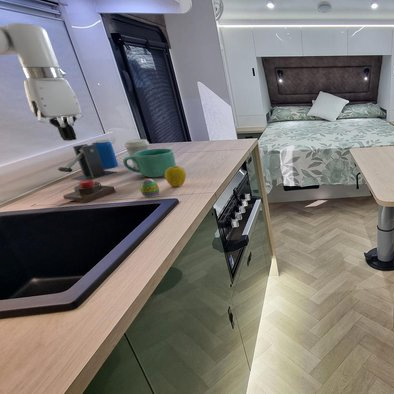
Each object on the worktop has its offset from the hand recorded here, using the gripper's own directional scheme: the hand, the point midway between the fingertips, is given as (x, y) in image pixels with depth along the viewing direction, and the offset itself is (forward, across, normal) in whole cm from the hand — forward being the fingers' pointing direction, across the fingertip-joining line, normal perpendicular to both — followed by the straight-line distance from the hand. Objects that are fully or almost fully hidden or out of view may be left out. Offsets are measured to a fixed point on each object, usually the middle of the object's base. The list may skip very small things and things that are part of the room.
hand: (70, 139), depth 88 cm
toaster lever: (+11, -12, -19) cm, 25 cm away
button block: (+18, +1, +1) cm, 19 cm away
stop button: (+15, +1, +1) cm, 15 cm away
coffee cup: (+19, -30, -12) cm, 38 cm away
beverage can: (+19, -26, -26) cm, 41 cm away
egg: (+19, -4, +20) cm, 28 cm away
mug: (+19, -22, +2) cm, 29 cm away
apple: (+19, -14, +21) cm, 32 cm away
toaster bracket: (+18, -15, -19) cm, 31 cm away
